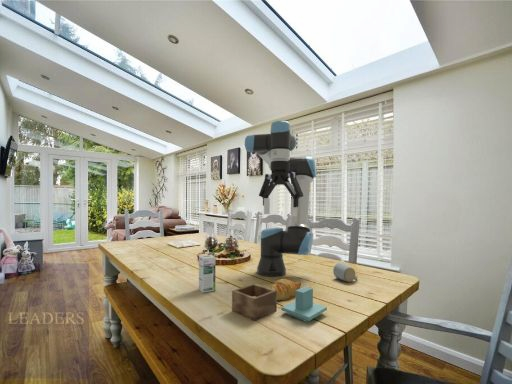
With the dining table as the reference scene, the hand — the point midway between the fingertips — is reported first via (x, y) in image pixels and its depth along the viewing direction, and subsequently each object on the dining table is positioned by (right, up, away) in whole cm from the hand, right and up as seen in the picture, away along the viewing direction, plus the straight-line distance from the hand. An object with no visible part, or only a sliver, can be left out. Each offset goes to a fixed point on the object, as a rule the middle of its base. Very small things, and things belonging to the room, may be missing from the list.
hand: (279, 215), depth 108 cm
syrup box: (-30, -33, +9) cm, 45 cm away
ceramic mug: (+34, -34, +25) cm, 54 cm away
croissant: (+1, -33, +3) cm, 33 cm away
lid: (+7, -33, -14) cm, 37 cm away
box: (-10, -33, -12) cm, 36 cm away
